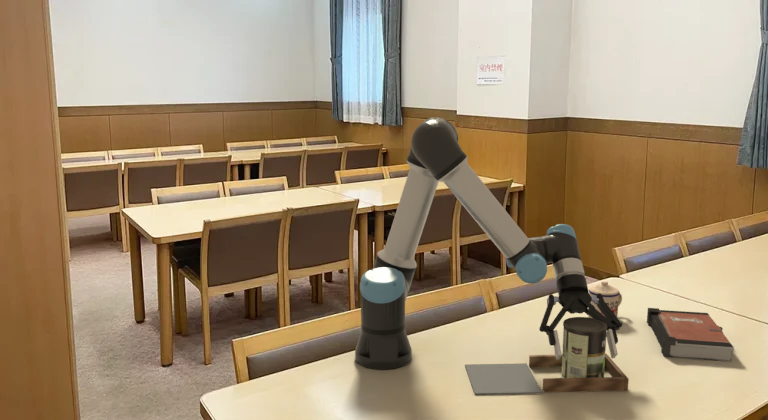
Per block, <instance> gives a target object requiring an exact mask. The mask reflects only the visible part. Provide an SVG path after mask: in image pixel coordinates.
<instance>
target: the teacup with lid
mask: <svg viewBox="0 0 768 420" xmlns="http://www.w3.org/2000/svg"><path fill="white" fill-rule="evenodd" d="M588 292H589V294H590V296H596V295H597V294H599V293H600V294H602V296H603V299H604V301H605V303H606V304H607V305H608V306H609V308H610V309H611V310H612V312H613V313H614V314H615V315H616V317H617V318H618V315H619V307H620V305H621V304H622V301H623V295H622V294H621V292H620V290H619V289H618V288H617V287H615V286H613V285H611V284H609V282H608V281H607V280H601V282H600V283H598V284H596V285H592V286H590V287H589V288H588ZM590 303H591V304H592V305H593V306H594V307H595V309H596V310H597V311H599V312H600V313H601V314H602V315H603V316H604V314H603V313H602V312H601V311H600V309H599V308H598V306H597V304H594V302H593V301H591V302H590ZM588 309H589V308H588ZM587 316H588V318H592V317H591V316H590V315H587Z"/></svg>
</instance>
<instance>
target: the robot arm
mask: <svg viewBox="0 0 768 420" xmlns="http://www.w3.org/2000/svg"><path fill="white" fill-rule="evenodd" d="M408 151H409V152H408V155H407V158H406V163H407V165H408V167H409V170H408V174H407V176H406V180H405V184H404V186H403V189H402V192H401V195H400V199H399V202H398V205H397V208H396V211H395V215H394V218H393V221H392V224H391V228H390V230H389V233H388V236H387V241H386V243H385V246H384V248H383V249H381V250H379V251H377V253H376V257H375V259H374V260H375V261H374V264H373V266H372V268H371V269H368V270H367V271H365V272H364V273H363V274H362V276H361V278H360V283H359V289H360V290H359V291H360V321H361V326H360V329H361V330H360V334H359V336H358V340H357V343H356V346H355V351H354V358H355V362H357V364H359V365H360V366H363V367H365V368H369V369H374V370H392V369H397V368H400V367H401V368H402V367H404V366H406V365H408V364H409V363H410V362H411V361H412V359H413V355H412V354H413V353H412V350H413V349H412V345H411V343H410V340H409V338H408V335H407V331H406V300H407V298H408V294H409V292H410V289H411V286H412V283H413V282H412V281H413V279H414V275H415V273H416V269H417V267H418V264H417V262H416V260H415V255H416V252H417V249H418V247H419V242H420V239H421V237H422V234H423V230H424V227H425V225H426V222H427V220H428V216H429V212H430V210H431V206H432V203H433V200H434V197H435V194H436V191H437V188H438V185H439V182H440V183H444V184H445V185H446V187H447V188H448V189H449V190H450V192H451V193H452V195H454V197H455V198H456V199H457V201H459V203H460V204H461V205H462V207H464V209H465V210H466V211H467V212H468V214H469V215H470V216H471V218H473V220H474V221H475V222H476V223H477V225H478V226H479V227H480V228H481V229H482V231H483V232H484V233H485V234H486V236H487V237H488V238H489V239H490V241H491V242H492V243H493V244H494V245H495V246H496V247H497V249H498V250H499V251H500V252H501V254H502V255H503V256H504V257H505V260H506V266H507V267H508V268H511V269H514V270H515V273H516V275H517V276H518V278H519V280H521V281H522V282H524V283H527V284H533V285H534V284H537V283H540V282H541V281H542V280H544V278H546V275H547V272H548V264H551V263H552V267H553V273H554V276H555V277H554V279H555V281H556V289H557V293H558V296H554V294H551V293H550V294H549V295H548V297H547V298H546V299H547V300H546V302H547V303H546V304H547V305H546V309H545V312H544V314H543V318H542V320H541V322H540V326H539V329H538V330H539V332H541V333H546V335H547V338H548V342H549V345H550V346H553V348H554V349H553V350H554V355H555V356H556V360H558V359H560V357H561V356H562V354H563V352H562V350H561V344H560V339H559V333H558V330H557V329H556V327H557V326H558V325H559V323H560V322H561V320H562V319H563V317H564V316H565V315H566V313H569V314H571V315H574V314H586V315H587V316H588V315H590V316H591V317H592V318H593V319H597V320H600V321H602V322H604V323H606V325H607V332H606V342H607V345H608V350H609V353H610V354H609V355H610V358H611V359H616V357H617V356H618V355H619V353H618V349H617V344H618V342H619V338H618V335H617V331H619V330H620V329H621V328H622V327H623V323H622V322H621V320H620V319H619V318H618V316H617V317H616V315H615V314H614V313H613V312H612V310H611V309H610V308H609V306H608V305H607V304H606V303H605V301H604V299H603V296H602V294H600V293H599V294H597V295H596V296H590V294H589V288H588V283H587V279H586V277H585V276H586V273H585V269H584V266H583V261H582V256H581V252H580V247H579V242H578V239H577V236H576V232H575V230H574V228H573V227H572V226H571V225H570V224H564V223H558V224H555V226H553V225H552V226H551V227H549V228H548V229H547V231H546V235H543V236H535V237H528V236H527V235H526V233H524V231H523V230H522V228H520V226H519V225H518V224H517V222H515V220H514V219H513V218H512V217H511V215H510V214H509V212H507V210H506V209H505V208H504V207H503V205H502V203H500V202H499V201H498V200H497V198H496V197H495V196H494V194H493V193H492V192H491V191H490V189H489V188H488V187H487V186H486V185H485V183H484V181H483V180H481V178H480V177H479V176H478V174H477V173H476V172H475V170H474V169H473V168H472V167H471V166H470V164H469V163H468V158H469V157H468V155H467V154H466V153H465V151H463V149H462V147H461V146H460V144H459V136H458V132H457V130H456V128H455V126H454V125H453V124H452V123H451V122H449V121H448V120H446V119H444V118H440V117H431V118H428V119H425V120H423V121H422V122H421V123H420V124H419V125H418V126H417V127H416V128H415V129H414V130H413V133H412V136H411V141H410V149H409V150H408ZM591 301H593V302H594V304H597V306H598V308H599V309H600V311H601V312H602V313H603V314H604V316H603V315H602V314H601V313H600V312H599V311H597V310H596V309H595V307H594V306H593V305H592V304H591V303H590V302H591ZM557 303H558V304H559V305H560V306H561V307H562V308H561V309H560V310H559V312H558V313H557V315H556V317H554V319H553V321H552V322H551V323H550V325H548V321H549V320H550V316H551V314H552V311H553V307H554V306H555V305H556V304H557ZM588 308H589V309H588Z"/></svg>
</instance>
